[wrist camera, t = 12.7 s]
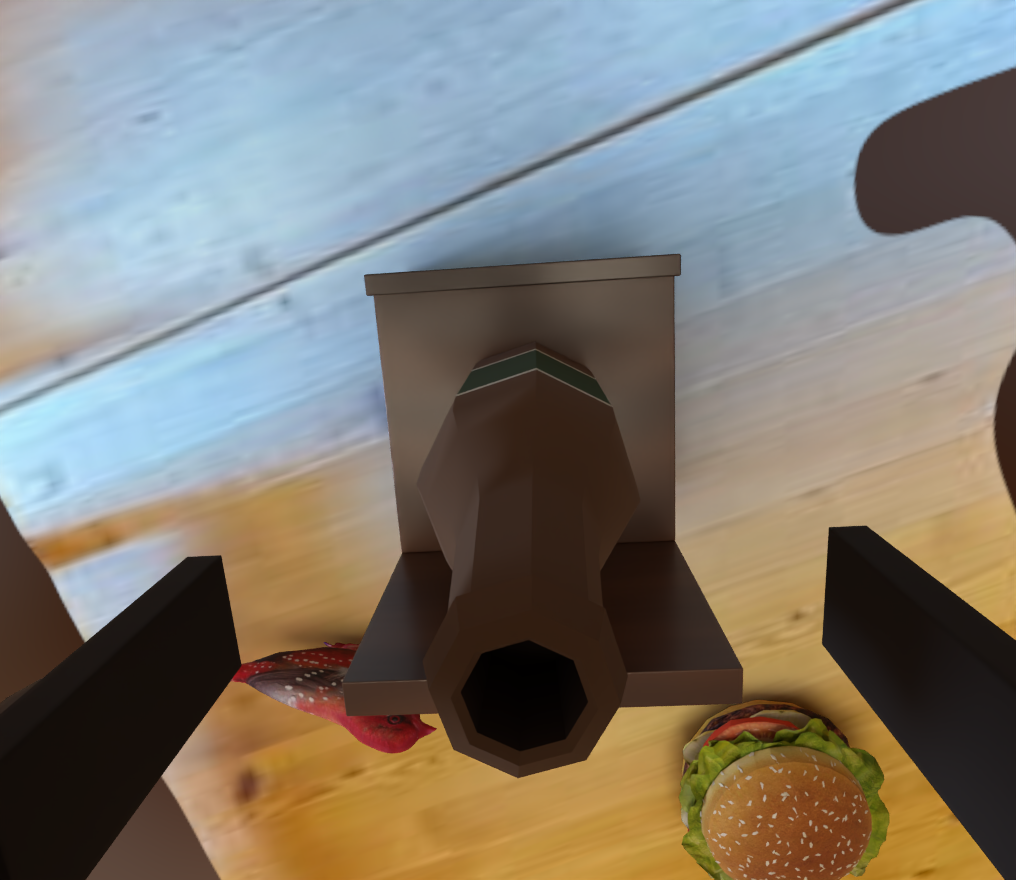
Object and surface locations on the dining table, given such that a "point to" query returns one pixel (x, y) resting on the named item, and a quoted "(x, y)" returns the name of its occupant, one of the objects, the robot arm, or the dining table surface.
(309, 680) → the decorative bird figurine
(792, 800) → the food
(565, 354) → the shelf stand
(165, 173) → the dining table surface
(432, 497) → the beer bottle
